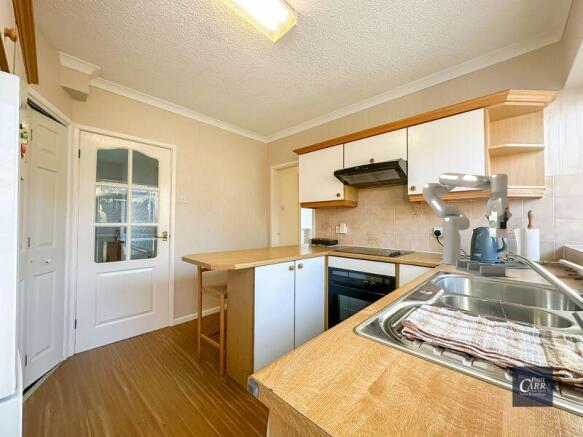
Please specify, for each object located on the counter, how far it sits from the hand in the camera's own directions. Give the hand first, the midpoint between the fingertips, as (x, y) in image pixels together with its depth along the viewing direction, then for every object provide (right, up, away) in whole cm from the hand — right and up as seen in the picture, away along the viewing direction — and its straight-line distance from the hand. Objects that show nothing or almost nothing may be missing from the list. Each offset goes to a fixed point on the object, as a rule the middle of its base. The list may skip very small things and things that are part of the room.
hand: (497, 228), depth 135 cm
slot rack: (-12, -24, -2) cm, 27 cm away
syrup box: (0, -5, 0) cm, 5 cm away
